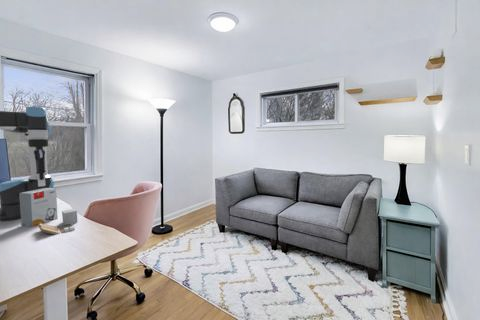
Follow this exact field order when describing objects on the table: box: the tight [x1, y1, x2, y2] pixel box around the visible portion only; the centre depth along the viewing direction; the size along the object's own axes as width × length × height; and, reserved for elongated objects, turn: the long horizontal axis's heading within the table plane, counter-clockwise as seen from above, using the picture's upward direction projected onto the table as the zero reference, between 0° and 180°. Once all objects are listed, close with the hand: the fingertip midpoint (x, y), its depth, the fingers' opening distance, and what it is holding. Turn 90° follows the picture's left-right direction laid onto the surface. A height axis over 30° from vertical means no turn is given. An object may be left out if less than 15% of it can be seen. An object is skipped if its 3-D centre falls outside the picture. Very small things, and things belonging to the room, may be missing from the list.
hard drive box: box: [19, 187, 59, 228], centre depth 139 cm, size 16×8×20 cm, turn 168°
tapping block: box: [61, 208, 78, 225], centre depth 139 cm, size 6×6×8 cm
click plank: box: [37, 223, 61, 235], centre depth 125 cm, size 12×8×1 cm, turn 46°
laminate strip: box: [56, 224, 73, 234], centre depth 130 cm, size 12×6×1 cm, turn 46°
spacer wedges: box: [64, 225, 76, 233], centre depth 127 cm, size 2×4×2 cm, turn 136°
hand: (41, 185), depth 120 cm, fingers closed
